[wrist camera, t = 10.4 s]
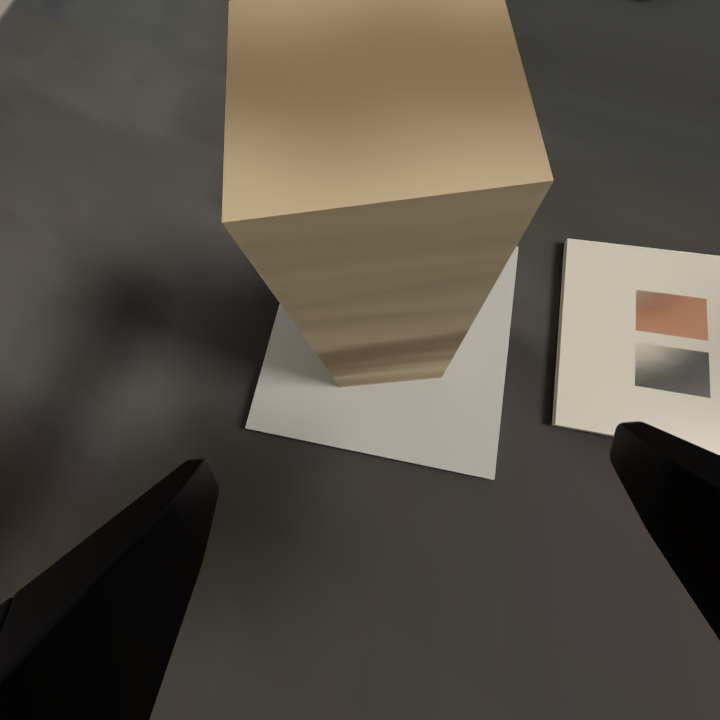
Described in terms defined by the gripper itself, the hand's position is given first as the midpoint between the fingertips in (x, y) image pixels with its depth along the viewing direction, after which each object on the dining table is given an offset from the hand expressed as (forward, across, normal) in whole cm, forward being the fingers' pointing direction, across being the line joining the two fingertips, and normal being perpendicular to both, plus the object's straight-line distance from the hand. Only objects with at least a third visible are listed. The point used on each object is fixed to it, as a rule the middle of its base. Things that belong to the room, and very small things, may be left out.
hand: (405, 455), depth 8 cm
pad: (+11, 0, +2) cm, 12 cm away
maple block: (+11, 0, +2) cm, 11 cm away
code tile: (+10, -14, +4) cm, 17 cm away
